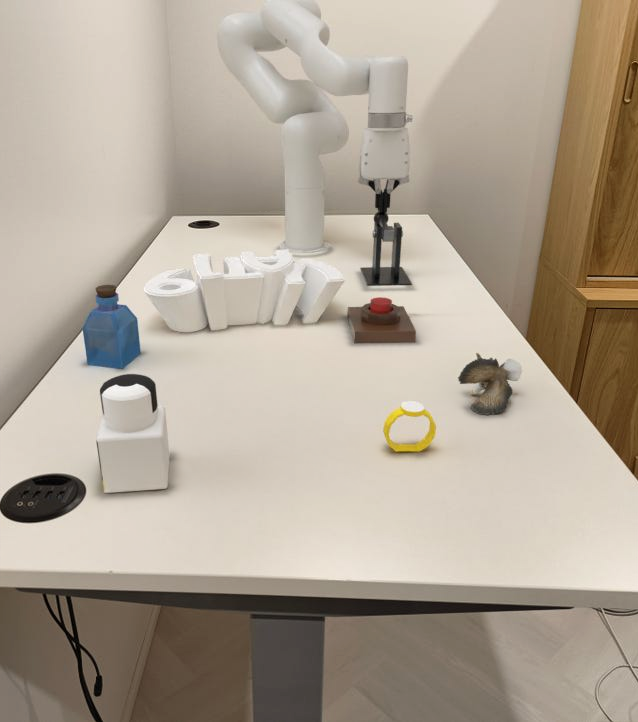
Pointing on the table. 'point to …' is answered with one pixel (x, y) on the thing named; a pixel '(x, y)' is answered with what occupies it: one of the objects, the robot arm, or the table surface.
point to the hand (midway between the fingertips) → (382, 211)
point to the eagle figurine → (490, 383)
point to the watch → (414, 411)
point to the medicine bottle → (132, 436)
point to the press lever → (384, 226)
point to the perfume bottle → (110, 331)
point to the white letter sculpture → (244, 291)
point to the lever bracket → (395, 272)
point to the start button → (380, 305)
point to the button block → (381, 325)
